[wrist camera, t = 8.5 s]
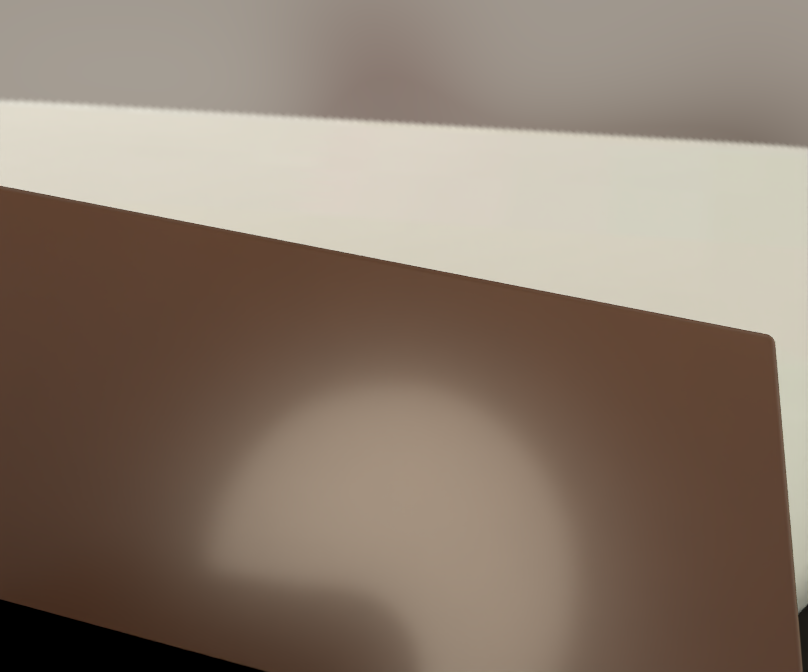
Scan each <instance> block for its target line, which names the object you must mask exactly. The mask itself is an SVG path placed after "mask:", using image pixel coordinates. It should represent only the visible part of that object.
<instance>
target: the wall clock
mask: <svg viewBox="0 0 808 672" xmlns="http://www.w3.org/2000/svg"><path fill="white" fill-rule="evenodd" d="M798 620H799V632H800V644H801V655H802V667H803V672H808V606H807V607H806V608H805V609H804V610H803V611H802V612H801V613H800V614H799V615H798Z"/></svg>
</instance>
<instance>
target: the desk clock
mask: <svg viewBox="0 0 808 672" xmlns="http://www.w3.org/2000/svg"><path fill="white" fill-rule="evenodd" d="M0 672H803V667H802V655H801V644H800V632H799V620H798V608H797V596H796V584H795V573H794V561H793V549H792V537H791V525H790V514H789V502H788V490H787V478H786V466H785V454H784V443H783V431H782V419H781V407H780V395H779V384H778V372H777V360H776V348H775V341H774V339H773V338H772V337H771V336H769V335H767V334H762V333H757V332H752V331H747V330H741V329H736V328H731V327H726V326H721V325H716V324H710V323H705V322H700V321H695V320H690V319H685V318H679V317H674V316H669V315H664V314H659V313H654V312H648V311H643V310H638V309H633V308H628V307H623V306H618V305H612V304H607V303H602V302H597V301H592V300H587V299H581V298H576V297H571V296H566V295H561V294H556V293H550V292H545V291H540V290H535V289H530V288H525V287H519V286H514V285H509V284H504V283H499V282H494V281H488V280H483V279H478V278H473V277H468V276H463V275H458V274H452V273H447V272H442V271H437V270H432V269H427V268H421V267H416V266H411V265H406V264H401V263H396V262H390V261H385V260H380V259H375V258H370V257H365V256H359V255H354V254H349V253H344V252H339V251H334V250H328V249H323V248H318V247H313V246H308V245H303V244H298V243H292V242H287V241H282V240H277V239H272V238H267V237H261V236H256V235H251V234H246V233H241V232H236V231H230V230H225V229H220V228H215V227H210V226H205V225H199V224H194V223H189V222H184V221H179V220H174V219H168V218H163V217H158V216H153V215H148V214H143V213H138V212H132V211H127V210H122V209H117V208H112V207H107V206H101V205H96V204H91V203H86V202H81V201H76V200H70V199H65V198H60V197H55V196H50V195H45V194H39V193H34V192H29V191H24V190H19V189H14V188H9V187H3V186H0Z"/></svg>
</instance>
